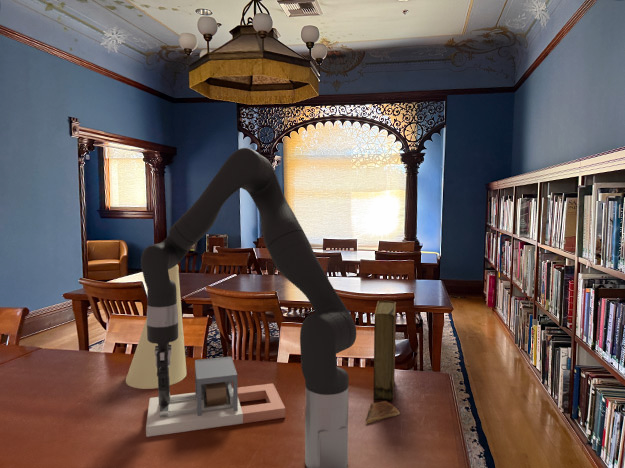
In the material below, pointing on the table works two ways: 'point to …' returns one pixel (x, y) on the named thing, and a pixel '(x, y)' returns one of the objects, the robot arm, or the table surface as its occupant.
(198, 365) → the tunnel
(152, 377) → the cone light
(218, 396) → the block
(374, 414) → the shard
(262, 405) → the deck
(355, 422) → the table surface
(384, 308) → the book
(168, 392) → the sled
